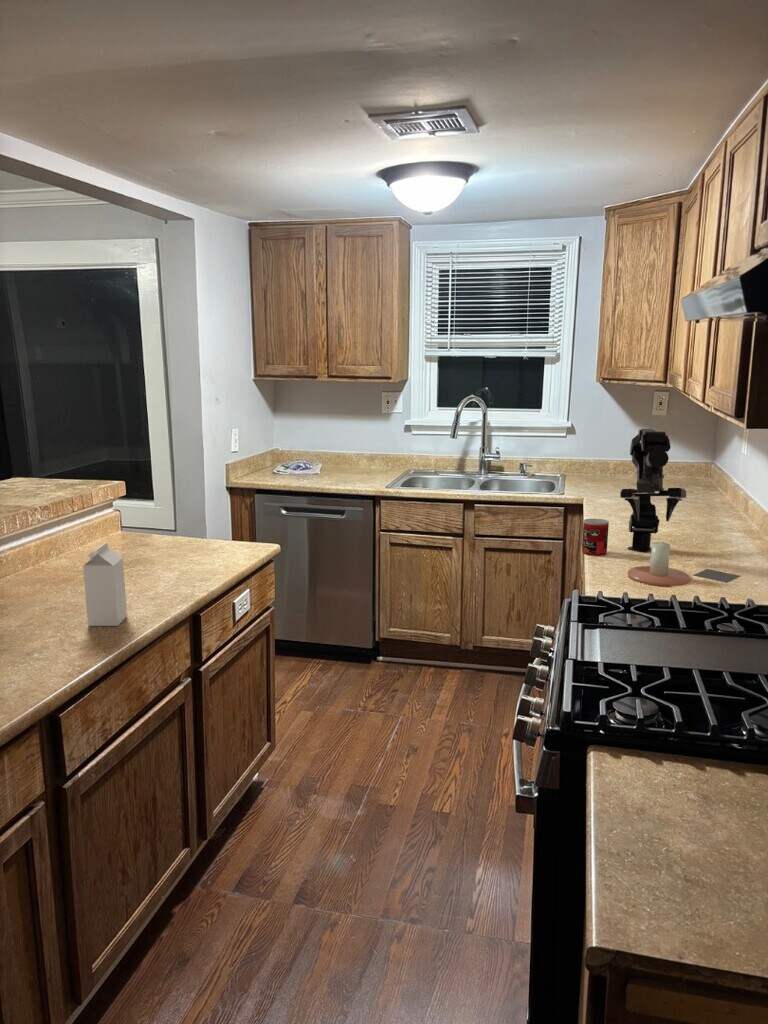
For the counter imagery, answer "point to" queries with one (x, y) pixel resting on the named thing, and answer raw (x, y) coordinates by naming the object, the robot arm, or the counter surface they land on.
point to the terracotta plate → (658, 577)
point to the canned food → (595, 537)
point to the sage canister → (659, 559)
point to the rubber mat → (716, 575)
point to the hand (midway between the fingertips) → (652, 521)
